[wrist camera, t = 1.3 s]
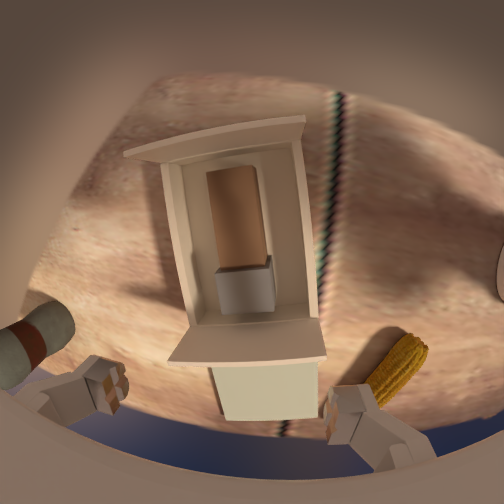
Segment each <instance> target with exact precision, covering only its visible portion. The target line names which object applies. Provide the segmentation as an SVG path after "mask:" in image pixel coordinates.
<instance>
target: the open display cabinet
mask: <svg viewBox="0 0 504 504" xmlns="http://www.w3.org/2000/svg"><path fill="white" fill-rule="evenodd" d="M305 125H306V116H305V115H296V116H286V117H277V118H269V119H262V120H255V121H248V122H242V123H236V124H230V125H225V126H220V127H215V128H210V129H205V130H200V131H196V132H191V133H187V134H183V135H179V136H175V137H171V138H167V139H163V140H159V141H156V142H152V143H149V144H145V145H142V146H138V147H135V148H132V149H129V150H126V151H123V157H124V158H130V159H137V160H144V161H150V162H156V163H160V166H161V174H162V182H163V189H164V196H165V203H166V209H167V216H168V222H169V228H170V234H171V239H172V245H173V250H174V256H175V261H176V266H177V271H178V276H179V281H180V285H181V290H182V295H183V299H184V303H185V308H186V312H187V316H188V320H189V324H190V328H189V329H188V331H187V332H186V334H185V335H184V336H183V338H182V339H181V341H180V342H179V344H178V345H177V347H176V348H175V350H174V351H173V353H172V354H171V356H170V357H169V359H168V360H167V363H168V366H181V367H252V366H273V365H287V364H299V363H310V362H319V361H327V354H326V349H325V345H324V340H323V336H322V331H321V327H320V323H319V318H318V299H317V283H316V268H315V256H314V244H313V233H312V223H311V214H310V205H309V196H308V188H307V180H306V173H305V165H304V158H303V151H302V145H301V137H302V134H303V131H304V128H305ZM246 165H253V166H254V167H255V168H256V169H257V176H258V184H259V191H260V199H261V206H262V214H263V221H264V229H265V237H266V245H267V253H268V255H272V261H273V269H274V278H275V286H276V299H275V310H274V312H261V313H248V314H232V315H222V313H221V308H220V302H219V297H218V291H217V286H216V280H215V275H214V274H215V272H216V271H217V270H218V269H219V267H220V263H219V257H218V251H217V245H216V239H215V232H214V226H213V219H212V213H211V206H210V199H209V192H208V185H207V177H206V172H209V171H215V170H221V169H227V168H233V167H240V166H246Z"/></svg>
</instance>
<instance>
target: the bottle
mask: <svg viewBox="0 0 504 504" xmlns="http://www.w3.org/2000/svg"><path fill="white" fill-rule="evenodd" d="M74 334H75V323H74V320H73V317H72V315H71V314H70V312H69V310H68V309H67V308H66V307H65V306H64V305H63V304H62V303H60V302H58V301H53V302H48V303H45V304H42V305H40V306H38V307H37V308H35V309H34V310H33V311H32V312H30V313H29V314H28V315H27V316H26V317H25V318H24V319H22V320H20V321H18V322H16V323H14V324H12V325H10V326H8V327H6V328H3V329H1V330H0V388H1V389H2V390H8V389H11V388H13V387H15V386H16V385H18V384H20V383H21V382H23V380H24V379H25V378H26V377H27V376H28V375H29V374H30V373H31V372H32V371H33V370H34V368H36V367H37V366H38V365H39V364H40V363H41V362H42V361H43V360H44V359H45V358H46V357H48V356H50V355H52V354H54V353H56V352H57V351H59V350H61V349H63V348H64V347H65V346H66V344H67V343H68V342H69V341H70V340H71V338H72V337H73V335H74Z"/></svg>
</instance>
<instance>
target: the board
mask: <svg viewBox="0 0 504 504" xmlns="http://www.w3.org/2000/svg"><path fill="white" fill-rule="evenodd" d="M211 368H212V372H213V375H214V379H215V383H216V386H217V390H218V394H219V397H220V401H221V404H222V408H223V411H224V414H225V418H226V420H232V421H267V420H290V419H303V418H314V417H318V362H310V363H299V364H287V365H273V366H252V367H211Z"/></svg>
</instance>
